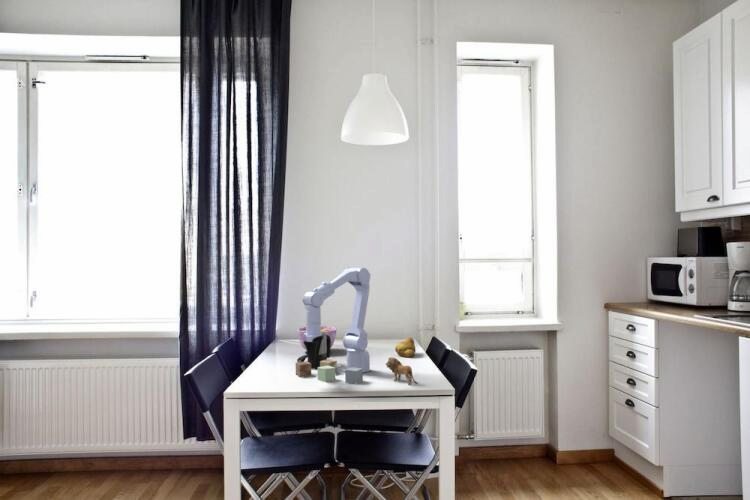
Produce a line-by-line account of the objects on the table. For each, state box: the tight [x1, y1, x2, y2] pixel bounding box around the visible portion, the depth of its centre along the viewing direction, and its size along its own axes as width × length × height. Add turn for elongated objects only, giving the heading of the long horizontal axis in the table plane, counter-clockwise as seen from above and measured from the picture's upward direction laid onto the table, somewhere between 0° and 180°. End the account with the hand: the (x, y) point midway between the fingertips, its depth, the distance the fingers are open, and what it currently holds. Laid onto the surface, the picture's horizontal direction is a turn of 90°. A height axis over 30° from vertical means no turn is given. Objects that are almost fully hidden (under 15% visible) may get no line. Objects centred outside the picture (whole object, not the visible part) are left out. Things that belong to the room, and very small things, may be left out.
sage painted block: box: [317, 366, 336, 383], centre depth 208 cm, size 5×5×5 cm
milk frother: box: [296, 332, 332, 370], centre depth 234 cm, size 14×16×15 cm
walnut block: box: [295, 360, 312, 378], centre depth 216 cm, size 5×5×5 cm
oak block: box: [320, 358, 338, 374], centre depth 220 cm, size 5×5×5 cm
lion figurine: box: [385, 356, 419, 386], centre depth 203 cm, size 15×5×9 cm, turn 49°
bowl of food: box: [297, 325, 338, 351], centre depth 264 cm, size 20×20×12 cm
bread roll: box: [395, 337, 417, 358], centre depth 253 cm, size 13×10×8 cm
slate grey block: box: [344, 367, 364, 384], centre depth 204 cm, size 5×5×5 cm
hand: (314, 356), depth 205 cm, fingers open, 7 cm apart
